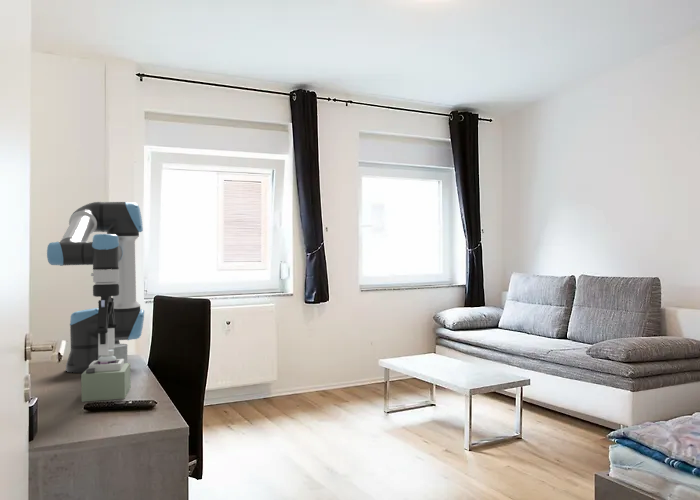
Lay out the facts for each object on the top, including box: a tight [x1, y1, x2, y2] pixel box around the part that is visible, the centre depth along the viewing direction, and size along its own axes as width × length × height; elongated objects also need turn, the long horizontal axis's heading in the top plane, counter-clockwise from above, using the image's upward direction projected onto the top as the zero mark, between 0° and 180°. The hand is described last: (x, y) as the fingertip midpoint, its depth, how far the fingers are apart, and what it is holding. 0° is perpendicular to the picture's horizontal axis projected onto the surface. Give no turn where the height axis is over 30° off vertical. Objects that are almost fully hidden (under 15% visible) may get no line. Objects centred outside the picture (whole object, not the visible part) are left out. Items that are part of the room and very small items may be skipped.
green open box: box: [80, 359, 132, 403], centre depth 182 cm, size 16×12×10 cm
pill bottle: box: [98, 349, 116, 364], centre depth 182 cm, size 5×5×10 cm
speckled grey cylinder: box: [98, 343, 129, 363], centre depth 202 cm, size 10×10×12 cm
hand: (106, 351), depth 182 cm, fingers open, 13 cm apart
